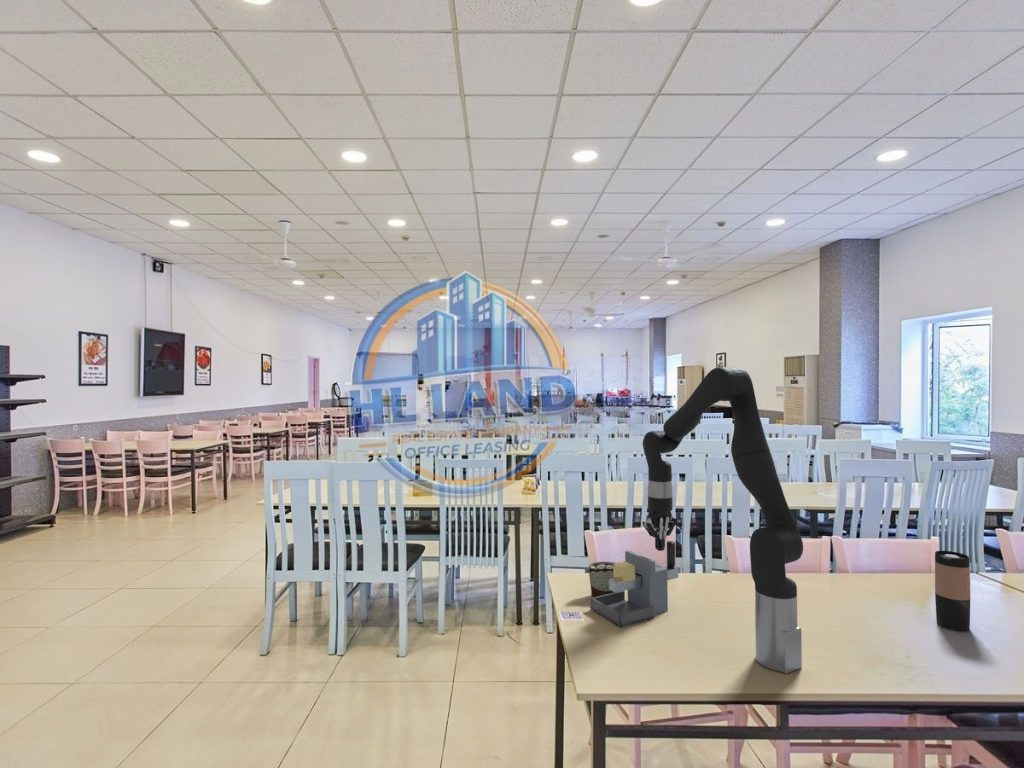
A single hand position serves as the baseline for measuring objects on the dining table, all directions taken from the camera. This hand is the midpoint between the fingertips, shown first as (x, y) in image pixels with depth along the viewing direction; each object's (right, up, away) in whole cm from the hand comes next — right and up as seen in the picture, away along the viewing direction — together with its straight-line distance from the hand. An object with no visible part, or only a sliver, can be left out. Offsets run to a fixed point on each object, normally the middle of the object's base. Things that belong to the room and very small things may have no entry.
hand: (660, 549), depth 165 cm
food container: (-16, -17, +7) cm, 24 cm away
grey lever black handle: (-6, -9, -3) cm, 11 cm away
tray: (-14, -17, -7) cm, 23 cm away
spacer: (-13, -6, -7) cm, 16 cm away
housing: (-5, -17, -3) cm, 18 cm away
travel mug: (+77, -16, -17) cm, 81 cm away
